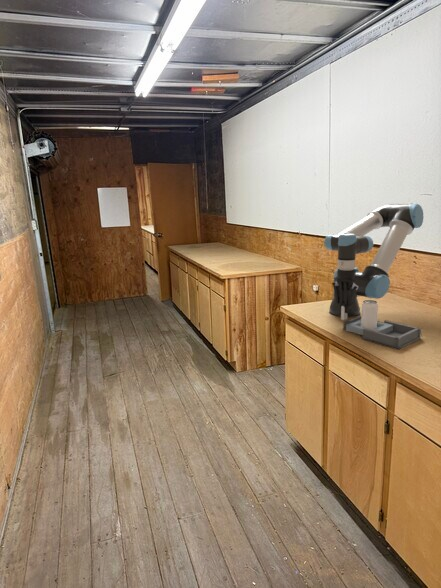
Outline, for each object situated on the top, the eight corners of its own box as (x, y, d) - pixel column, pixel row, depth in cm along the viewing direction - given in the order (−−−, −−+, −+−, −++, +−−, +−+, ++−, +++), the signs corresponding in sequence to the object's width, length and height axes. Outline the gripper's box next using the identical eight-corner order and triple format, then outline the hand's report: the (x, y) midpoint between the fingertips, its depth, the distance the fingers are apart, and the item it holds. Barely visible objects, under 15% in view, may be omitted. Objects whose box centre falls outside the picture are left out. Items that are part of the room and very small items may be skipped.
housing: (361, 339, 164) (362, 329, 163) (384, 329, 174) (385, 320, 173) (398, 349, 152) (399, 338, 151) (420, 338, 162) (421, 328, 161)
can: (358, 326, 174) (360, 299, 171) (373, 325, 174) (375, 299, 171) (363, 330, 168) (364, 303, 165) (378, 330, 167) (380, 303, 164)
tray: (343, 329, 173) (343, 322, 172) (362, 322, 181) (362, 315, 180) (374, 338, 161) (375, 330, 160) (393, 330, 169) (393, 322, 168)
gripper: (328, 268, 177) (327, 317, 183) (353, 271, 167) (351, 324, 173) (338, 266, 182) (337, 314, 187) (364, 269, 172) (361, 320, 177)
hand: (344, 319), depth 180 cm, fingers closed
